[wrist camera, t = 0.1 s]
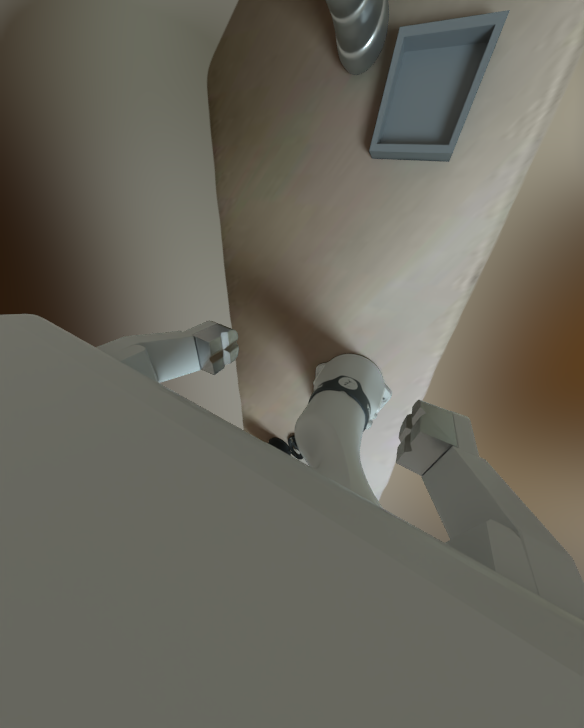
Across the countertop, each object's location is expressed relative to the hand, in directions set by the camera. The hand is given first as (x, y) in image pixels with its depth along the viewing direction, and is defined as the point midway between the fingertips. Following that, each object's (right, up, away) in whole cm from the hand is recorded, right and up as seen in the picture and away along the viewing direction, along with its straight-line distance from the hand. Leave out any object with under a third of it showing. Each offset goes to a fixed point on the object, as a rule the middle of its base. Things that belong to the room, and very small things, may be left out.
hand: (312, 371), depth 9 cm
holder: (+18, +36, +20) cm, 45 cm away
